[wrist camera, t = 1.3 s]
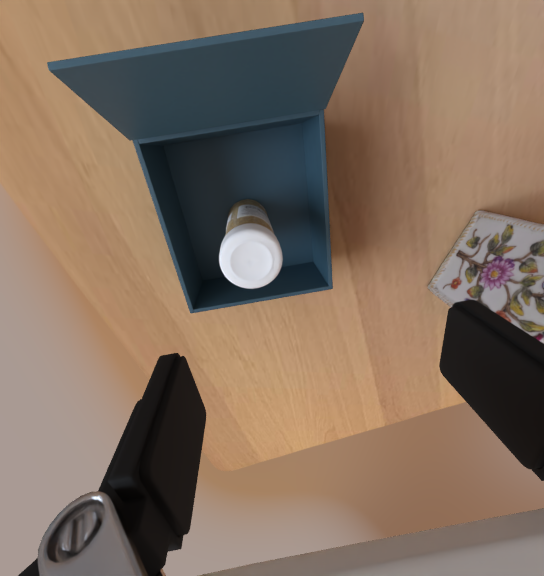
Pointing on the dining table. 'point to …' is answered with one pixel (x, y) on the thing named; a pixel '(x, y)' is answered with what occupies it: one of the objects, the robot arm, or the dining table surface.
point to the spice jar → (250, 247)
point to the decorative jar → (497, 270)
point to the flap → (214, 77)
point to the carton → (240, 186)
